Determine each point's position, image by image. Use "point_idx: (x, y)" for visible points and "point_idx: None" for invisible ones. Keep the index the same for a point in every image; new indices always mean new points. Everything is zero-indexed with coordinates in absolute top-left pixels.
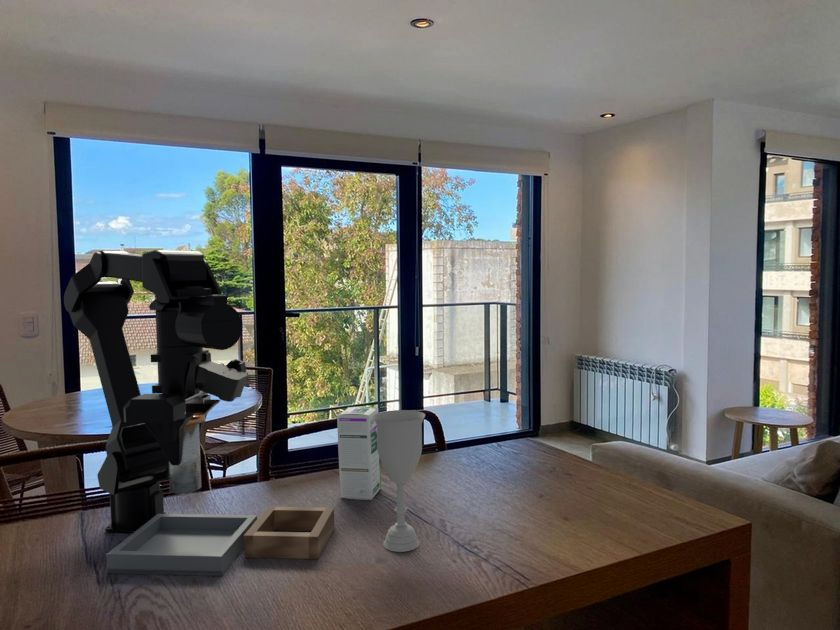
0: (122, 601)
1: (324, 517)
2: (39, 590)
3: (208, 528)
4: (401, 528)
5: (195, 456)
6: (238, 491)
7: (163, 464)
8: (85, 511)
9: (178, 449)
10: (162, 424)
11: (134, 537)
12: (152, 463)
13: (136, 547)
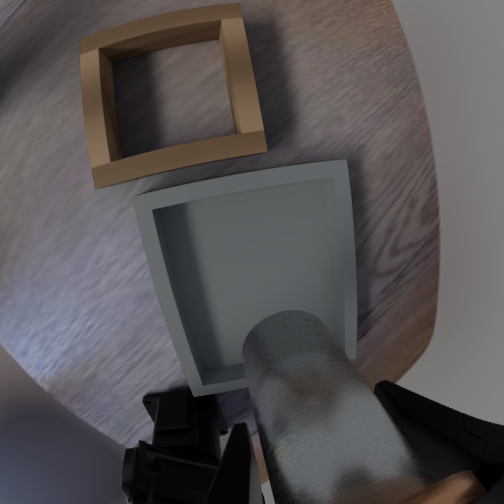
0: (406, 265)
1: (136, 27)
2: (381, 374)
3: (178, 292)
4: None
5: (341, 378)
6: (15, 338)
7: (173, 468)
8: None
9: (436, 404)
10: None
11: None
12: (202, 480)
13: None
